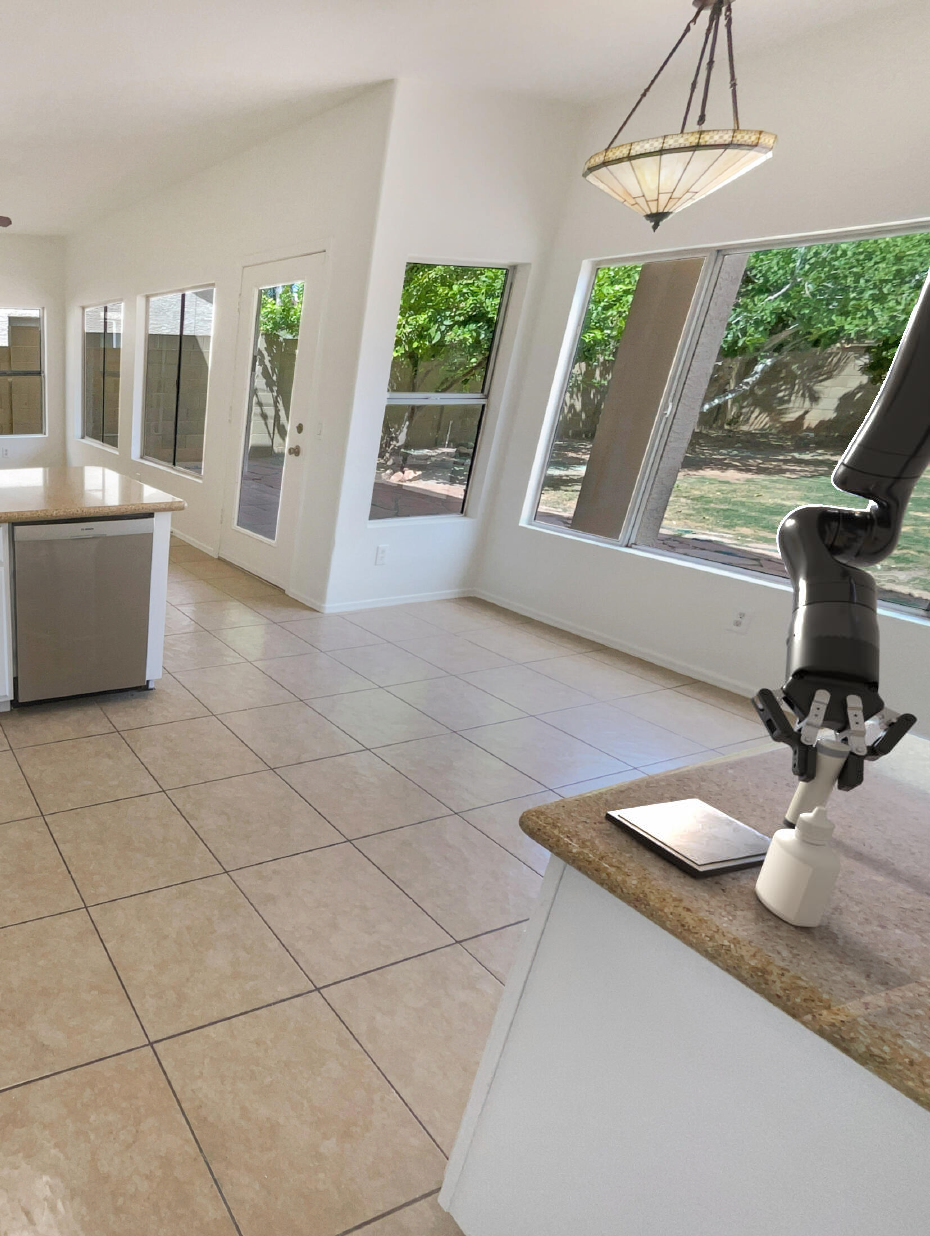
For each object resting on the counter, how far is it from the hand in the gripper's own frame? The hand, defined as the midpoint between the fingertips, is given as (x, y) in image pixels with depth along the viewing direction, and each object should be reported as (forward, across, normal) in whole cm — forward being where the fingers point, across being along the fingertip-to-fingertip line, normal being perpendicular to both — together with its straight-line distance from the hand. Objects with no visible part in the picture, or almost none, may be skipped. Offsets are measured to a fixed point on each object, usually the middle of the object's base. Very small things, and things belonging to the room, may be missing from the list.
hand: (826, 783), depth 77 cm
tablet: (+9, -10, +2) cm, 14 cm away
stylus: (+4, 0, +6) cm, 7 cm away
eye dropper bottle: (+16, -4, -5) cm, 18 cm away
